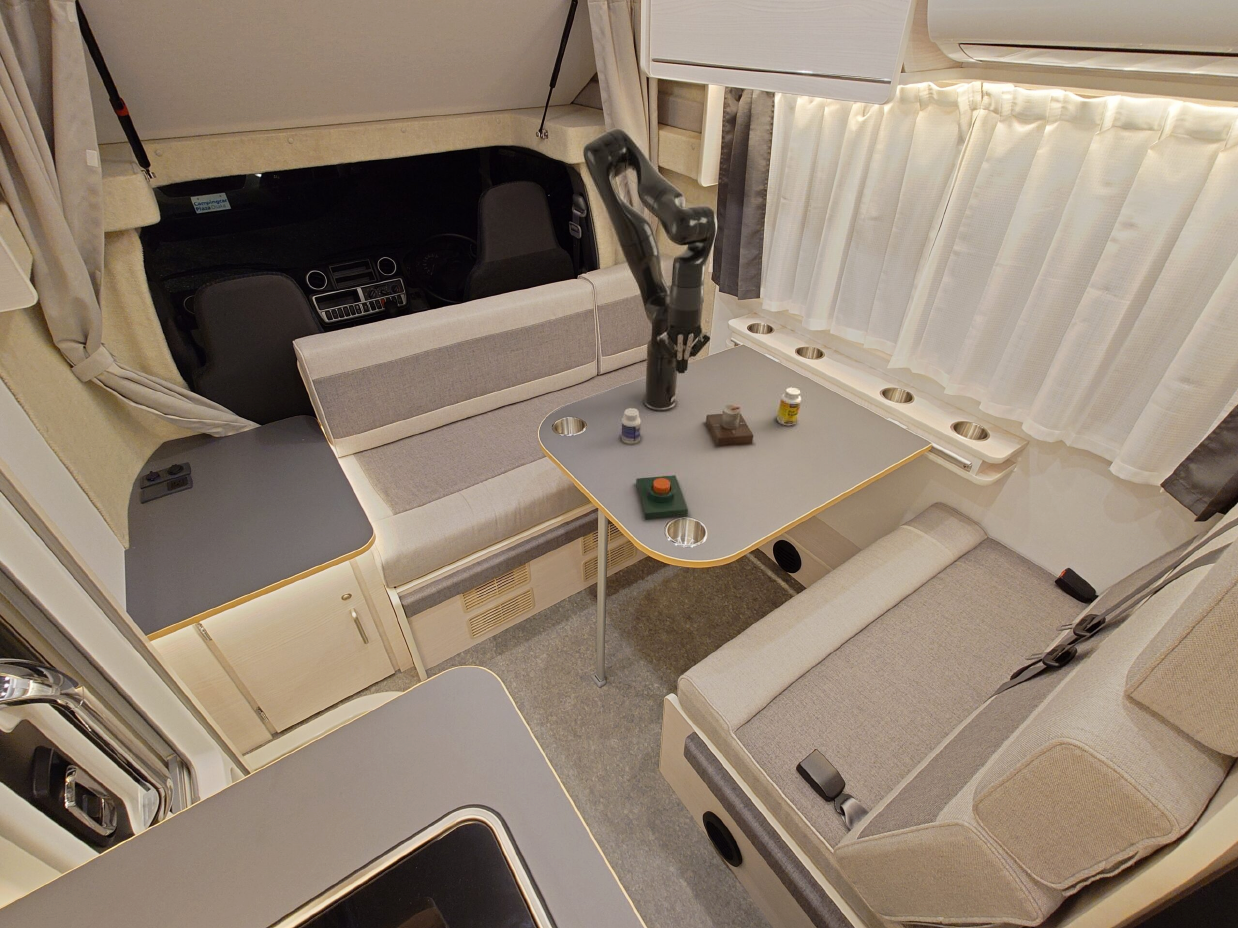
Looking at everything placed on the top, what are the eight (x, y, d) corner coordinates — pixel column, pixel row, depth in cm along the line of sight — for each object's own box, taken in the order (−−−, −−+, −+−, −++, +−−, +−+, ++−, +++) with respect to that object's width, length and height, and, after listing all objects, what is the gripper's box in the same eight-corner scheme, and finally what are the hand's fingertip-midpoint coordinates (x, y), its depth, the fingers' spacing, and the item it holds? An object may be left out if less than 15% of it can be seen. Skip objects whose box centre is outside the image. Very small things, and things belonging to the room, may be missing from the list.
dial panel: (705, 423, 163) (706, 414, 162) (738, 420, 165) (739, 411, 163) (717, 446, 154) (718, 437, 152) (751, 444, 155) (753, 434, 153)
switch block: (636, 485, 140) (636, 472, 138) (674, 481, 142) (675, 469, 139) (645, 520, 130) (645, 507, 128) (687, 516, 131) (688, 503, 129)
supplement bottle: (784, 428, 162) (791, 397, 156) (772, 418, 166) (779, 388, 160) (800, 423, 164) (807, 393, 157) (787, 414, 168) (794, 384, 161)
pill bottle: (638, 445, 154) (639, 418, 149) (619, 443, 155) (620, 415, 150) (641, 434, 158) (642, 408, 153) (623, 432, 159) (623, 405, 154)
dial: (725, 430, 155) (727, 414, 152) (718, 421, 159) (720, 405, 156) (741, 427, 156) (743, 411, 153) (733, 418, 160) (735, 402, 157)
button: (651, 484, 135) (652, 478, 134) (667, 482, 135) (668, 477, 134) (654, 494, 132) (655, 489, 131) (671, 493, 132) (671, 487, 131)
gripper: (709, 295, 129) (702, 363, 140) (653, 298, 128) (650, 366, 138) (719, 307, 123) (711, 377, 134) (660, 310, 122) (657, 381, 132)
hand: (680, 371), depth 136 cm, fingers closed
